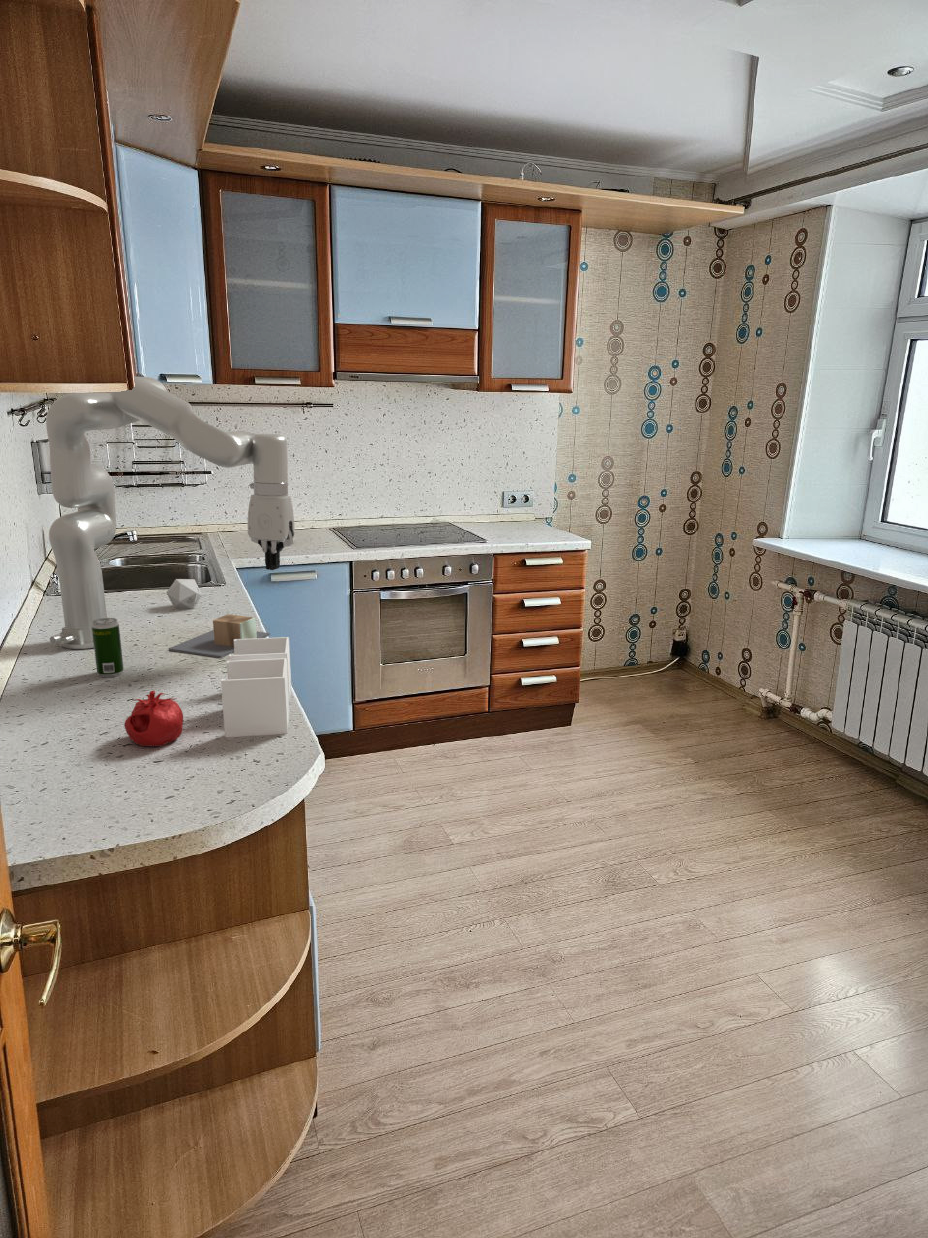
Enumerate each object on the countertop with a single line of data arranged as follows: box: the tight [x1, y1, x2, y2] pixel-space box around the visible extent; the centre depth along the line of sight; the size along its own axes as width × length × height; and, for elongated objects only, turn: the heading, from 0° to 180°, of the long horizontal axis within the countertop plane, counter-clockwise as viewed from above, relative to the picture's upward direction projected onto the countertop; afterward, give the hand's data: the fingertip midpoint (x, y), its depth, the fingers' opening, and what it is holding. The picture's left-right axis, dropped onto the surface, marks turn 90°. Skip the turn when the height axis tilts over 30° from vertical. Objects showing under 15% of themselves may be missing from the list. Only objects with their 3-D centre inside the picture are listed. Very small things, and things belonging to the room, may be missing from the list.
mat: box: [168, 629, 271, 659], centre depth 198 cm, size 20×15×1 cm
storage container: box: [220, 636, 292, 738], centre depth 155 cm, size 25×11×11 cm, turn 10°
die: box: [165, 578, 203, 610], centre depth 229 cm, size 8×9×10 cm
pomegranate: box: [123, 690, 184, 747], centre depth 142 cm, size 10×10×9 cm
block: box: [212, 613, 257, 647], centre depth 196 cm, size 6×6×8 cm
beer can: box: [92, 617, 124, 678], centre depth 174 cm, size 5×5×12 cm
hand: (272, 568), depth 187 cm, fingers closed
